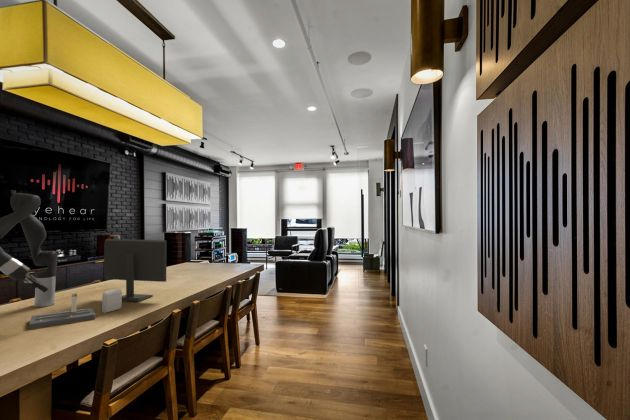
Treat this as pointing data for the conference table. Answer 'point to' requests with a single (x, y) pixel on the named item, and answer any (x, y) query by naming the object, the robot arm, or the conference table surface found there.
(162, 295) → the conference table surface
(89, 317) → the grey slider track board
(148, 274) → the computer monitor
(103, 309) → the photo printer
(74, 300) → the fader
